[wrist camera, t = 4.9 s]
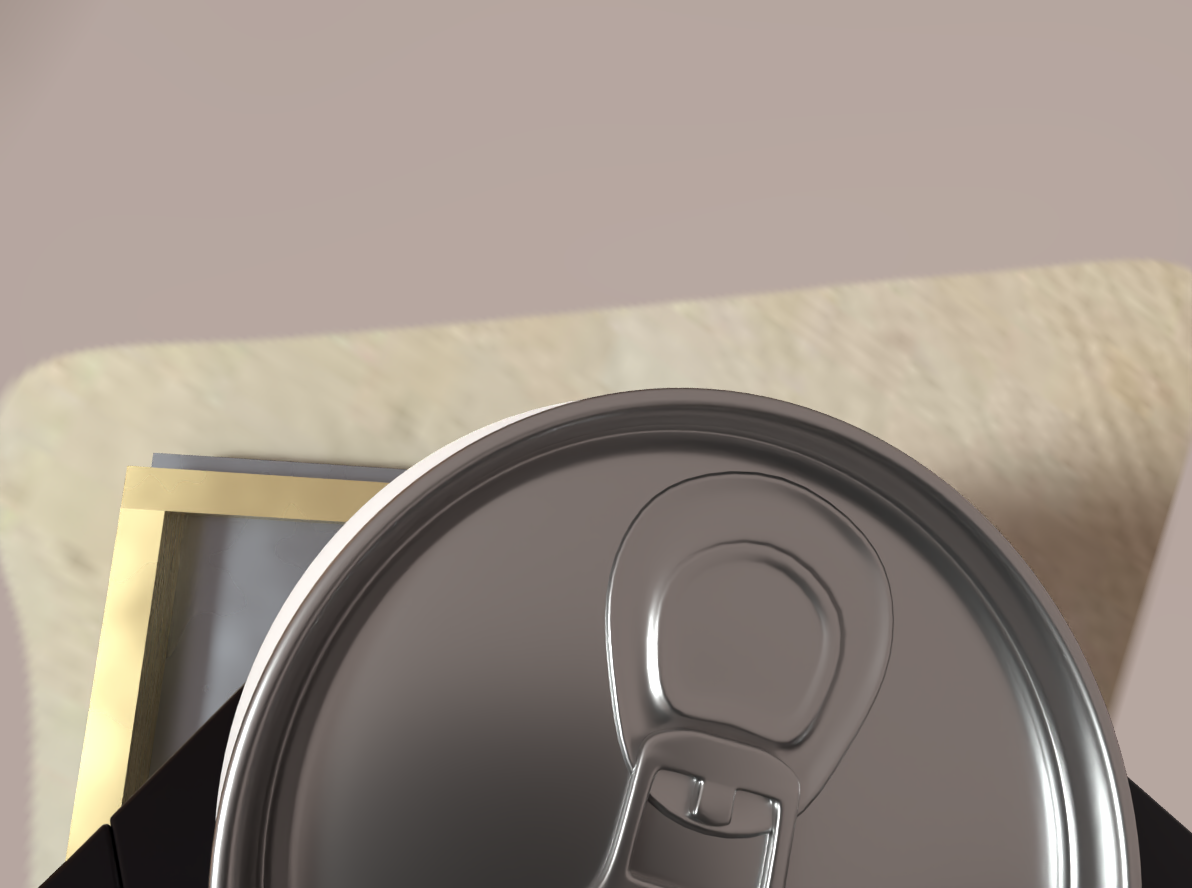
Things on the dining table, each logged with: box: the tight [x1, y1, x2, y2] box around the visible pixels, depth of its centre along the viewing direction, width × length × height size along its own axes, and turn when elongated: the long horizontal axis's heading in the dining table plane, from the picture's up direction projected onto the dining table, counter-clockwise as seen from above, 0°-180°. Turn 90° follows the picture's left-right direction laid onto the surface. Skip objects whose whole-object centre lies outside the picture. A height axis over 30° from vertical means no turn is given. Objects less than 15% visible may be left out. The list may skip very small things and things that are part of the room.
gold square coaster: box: [65, 453, 407, 861], centre depth 20 cm, size 11×10×3 cm
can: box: [208, 388, 1142, 888], centre depth 11 cm, size 6×6×12 cm
